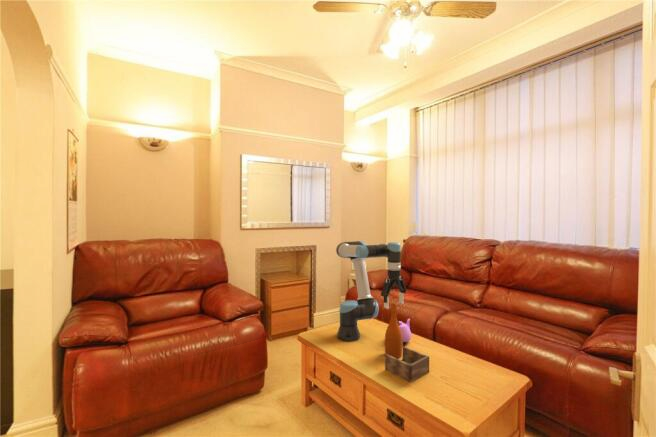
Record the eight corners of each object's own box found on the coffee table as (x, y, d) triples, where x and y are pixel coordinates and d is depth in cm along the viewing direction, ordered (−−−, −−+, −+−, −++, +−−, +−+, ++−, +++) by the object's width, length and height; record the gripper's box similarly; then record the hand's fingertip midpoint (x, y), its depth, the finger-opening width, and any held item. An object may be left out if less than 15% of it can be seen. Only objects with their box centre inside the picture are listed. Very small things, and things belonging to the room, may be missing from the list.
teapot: (401, 333, 214) (401, 315, 214) (419, 340, 203) (419, 320, 203) (382, 341, 201) (382, 322, 201) (400, 348, 190) (400, 328, 190)
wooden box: (385, 369, 165) (385, 354, 164) (403, 360, 175) (403, 346, 175) (410, 382, 152) (410, 366, 152) (429, 372, 162) (429, 356, 162)
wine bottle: (402, 359, 176) (402, 307, 175) (384, 358, 178) (385, 305, 177) (401, 352, 185) (402, 302, 185) (385, 350, 187) (385, 301, 187)
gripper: (385, 272, 169) (385, 311, 170) (412, 267, 185) (412, 303, 186) (374, 270, 175) (374, 308, 176) (402, 266, 191) (402, 300, 191)
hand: (394, 305), depth 181 cm, fingers open, 13 cm apart
